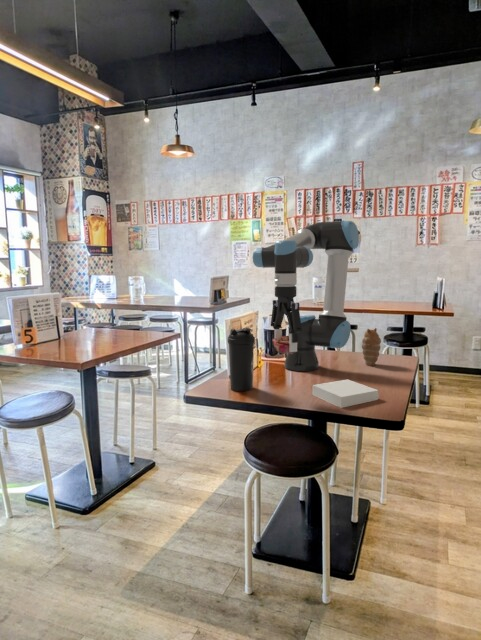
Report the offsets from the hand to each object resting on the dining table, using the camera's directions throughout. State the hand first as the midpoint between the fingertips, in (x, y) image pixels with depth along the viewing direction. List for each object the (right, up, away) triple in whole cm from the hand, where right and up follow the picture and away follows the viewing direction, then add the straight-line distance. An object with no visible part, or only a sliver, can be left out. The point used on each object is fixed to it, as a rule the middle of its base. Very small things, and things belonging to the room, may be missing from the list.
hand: (285, 349), depth 160 cm
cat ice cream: (+42, -11, +43) cm, 61 cm away
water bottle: (-15, -16, +13) cm, 26 cm away
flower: (0, -3, 0) cm, 3 cm away
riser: (+21, -17, -1) cm, 27 cm away
